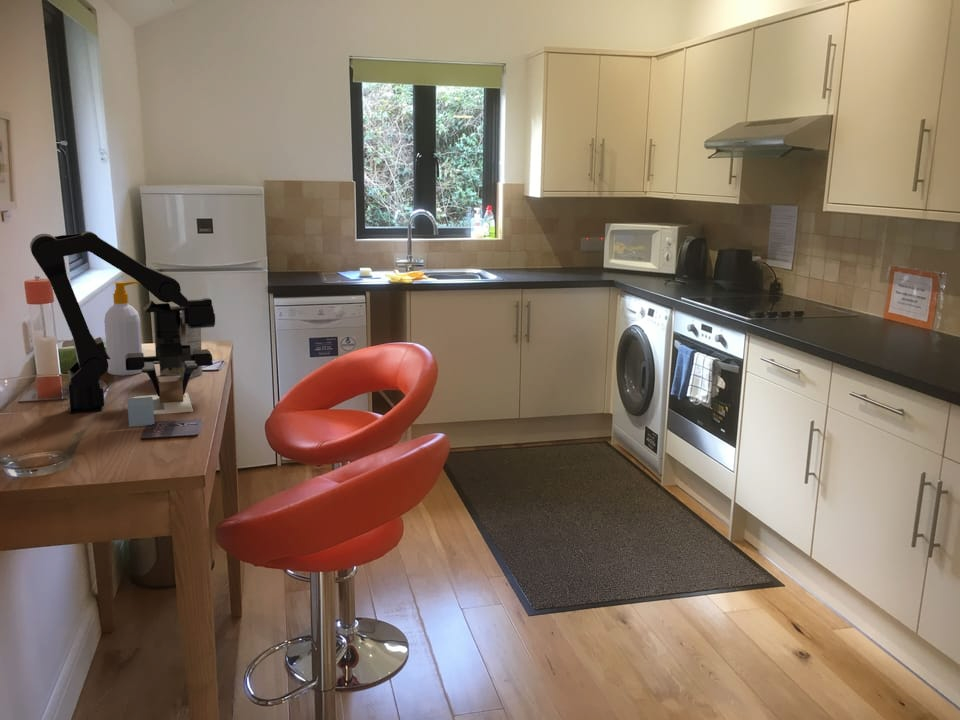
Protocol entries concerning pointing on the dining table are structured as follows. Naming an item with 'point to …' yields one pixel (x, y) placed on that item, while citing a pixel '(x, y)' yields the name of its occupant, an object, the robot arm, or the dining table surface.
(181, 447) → the dining table surface
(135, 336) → the soap bottle
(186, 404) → the letter
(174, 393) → the walnut block
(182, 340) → the coffee box
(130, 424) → the blue cube
